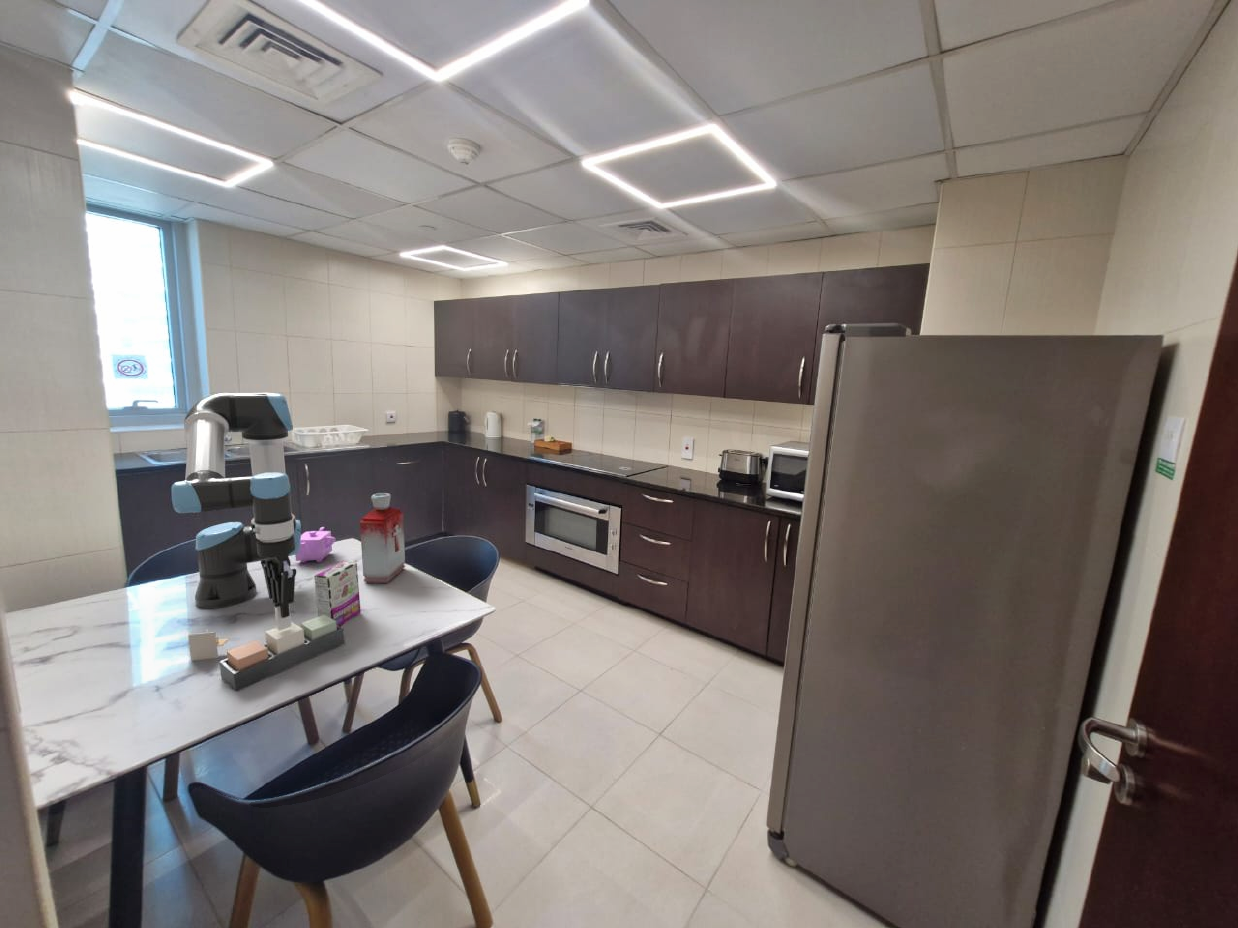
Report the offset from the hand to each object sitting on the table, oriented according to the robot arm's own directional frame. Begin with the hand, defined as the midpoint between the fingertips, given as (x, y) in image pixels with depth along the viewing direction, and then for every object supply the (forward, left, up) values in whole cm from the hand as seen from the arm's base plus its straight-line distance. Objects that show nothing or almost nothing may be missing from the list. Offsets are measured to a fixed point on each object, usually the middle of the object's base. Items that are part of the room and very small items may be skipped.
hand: (284, 627), depth 121 cm
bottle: (-28, +44, -9) cm, 53 cm away
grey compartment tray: (0, 0, -9) cm, 9 cm away
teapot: (-63, +37, -9) cm, 74 cm away
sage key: (0, +8, -7) cm, 11 cm away
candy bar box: (-9, +18, -9) cm, 22 cm away
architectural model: (-18, -11, -10) cm, 23 cm away
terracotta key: (0, -8, -7) cm, 11 cm away
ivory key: (0, 0, -6) cm, 6 cm away
